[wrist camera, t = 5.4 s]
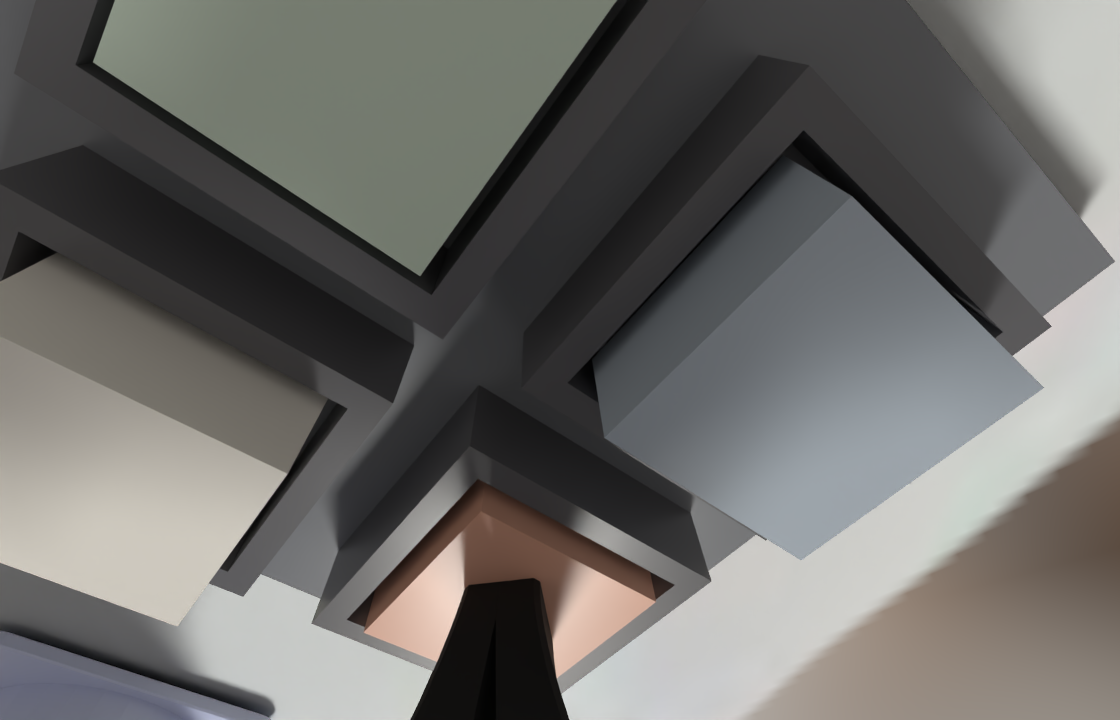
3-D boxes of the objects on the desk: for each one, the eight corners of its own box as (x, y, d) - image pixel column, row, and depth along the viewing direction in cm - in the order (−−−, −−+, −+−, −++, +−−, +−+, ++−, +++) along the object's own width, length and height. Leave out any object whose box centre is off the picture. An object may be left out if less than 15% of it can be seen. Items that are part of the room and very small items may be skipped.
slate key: (758, 472, 11) (801, 560, 9) (592, 359, 9) (604, 437, 8) (949, 317, 9) (1043, 387, 8) (783, 155, 8) (852, 195, 6)
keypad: (548, 658, 17) (550, 763, 15) (-87, 382, 12) (-247, 479, 9) (1070, 241, 11) (1218, 306, 9) (242, -754, 6) (16, -1338, 3)
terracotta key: (530, 616, 14) (529, 699, 13) (386, 550, 13) (363, 632, 11) (640, 522, 13) (655, 602, 11) (489, 436, 11) (481, 511, 10)
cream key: (233, 531, 11) (177, 626, 9) (-3, 430, 10) (-119, 520, 8) (332, 390, 10) (287, 473, 8) (68, 246, 8) (-56, 310, 6)
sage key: (441, 226, 9) (419, 276, 8) (189, 50, 8) (91, 62, 6) (605, -7, 8) (625, -12, 6) (327, -276, 6) (249, -382, 5)
